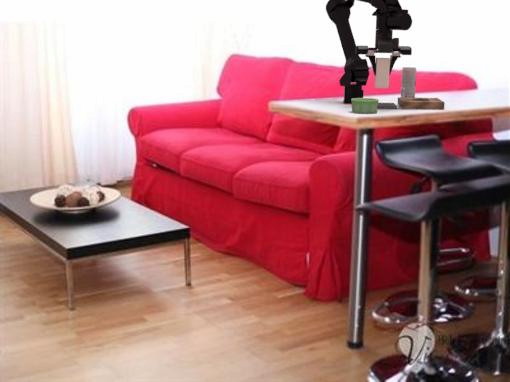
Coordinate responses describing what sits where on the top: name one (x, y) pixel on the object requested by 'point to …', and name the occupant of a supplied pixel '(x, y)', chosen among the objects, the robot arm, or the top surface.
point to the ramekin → (364, 105)
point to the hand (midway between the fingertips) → (382, 75)
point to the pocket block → (421, 103)
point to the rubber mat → (386, 106)
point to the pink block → (382, 72)
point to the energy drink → (408, 82)
